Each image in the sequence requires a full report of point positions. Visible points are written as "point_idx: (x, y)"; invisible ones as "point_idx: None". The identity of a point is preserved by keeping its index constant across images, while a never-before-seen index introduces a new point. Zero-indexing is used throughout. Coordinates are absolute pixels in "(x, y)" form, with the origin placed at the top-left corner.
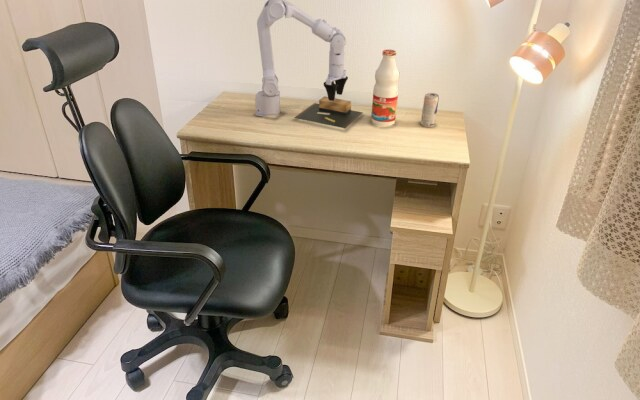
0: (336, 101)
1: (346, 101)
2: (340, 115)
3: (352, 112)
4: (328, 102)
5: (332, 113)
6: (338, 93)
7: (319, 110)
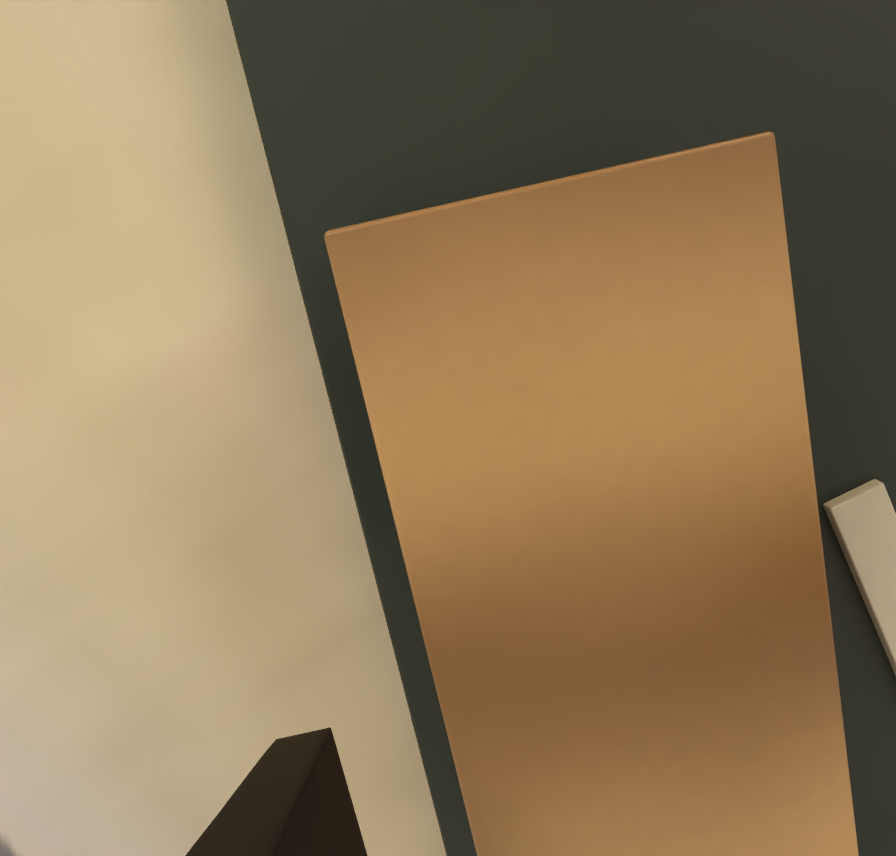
0: (677, 598)
1: (468, 348)
2: None
3: (400, 139)
4: (839, 739)
5: None
6: (355, 854)
7: None
